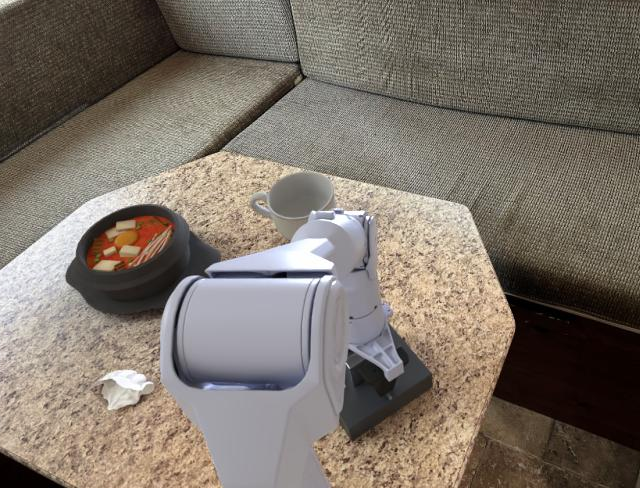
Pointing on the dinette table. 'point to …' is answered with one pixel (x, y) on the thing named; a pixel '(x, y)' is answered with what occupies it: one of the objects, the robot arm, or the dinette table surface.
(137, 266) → the casserole
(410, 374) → the block
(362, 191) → the dinette table surface
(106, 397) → the tissue
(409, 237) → the dinette table surface
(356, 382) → the tap handle
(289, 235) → the teacup
